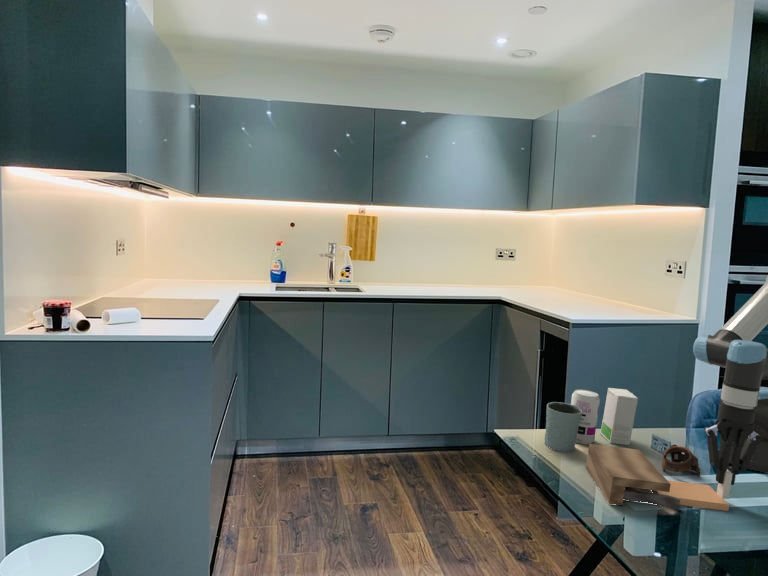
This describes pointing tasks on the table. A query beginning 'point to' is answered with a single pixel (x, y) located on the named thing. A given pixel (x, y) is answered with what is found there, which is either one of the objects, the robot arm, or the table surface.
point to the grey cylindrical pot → (562, 426)
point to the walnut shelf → (627, 476)
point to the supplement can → (586, 414)
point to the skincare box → (619, 416)
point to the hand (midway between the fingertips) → (722, 495)
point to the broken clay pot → (676, 456)
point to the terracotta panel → (695, 495)
